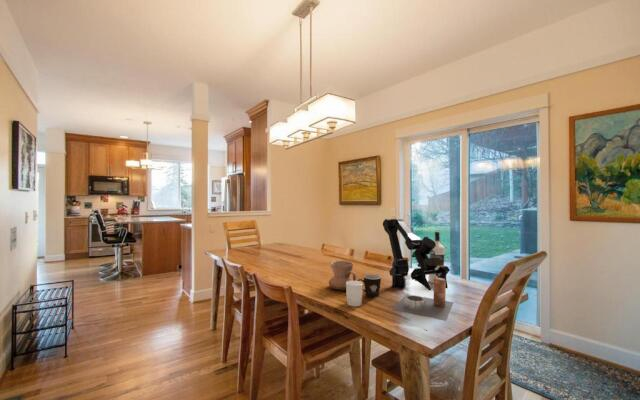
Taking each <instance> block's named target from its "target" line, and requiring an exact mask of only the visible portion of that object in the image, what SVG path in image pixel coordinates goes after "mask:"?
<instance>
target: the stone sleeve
mask: <svg viewBox="0 0 640 400" xmlns="http://www.w3.org/2000/svg"><path fill="white" fill-rule="evenodd" d="M408 295H409V296H406V297H405V307H406V308H407V309H409V310H413V311H423V310H425V298H423V296H421V295H416V294H415V295H414V294H408Z"/></svg>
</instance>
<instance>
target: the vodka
mask: <svg viewBox="0 0 640 400" xmlns="http://www.w3.org/2000/svg"><path fill="white" fill-rule="evenodd" d="M434 242H435V244H436V246H435V248H434V249H433V250H432V251H431V253H430V254H429V258H436V257H437V256H441V258H442V259H443V263H441V265H440V264H439V265H437V267H436V268H435V270H437V269H438V268H439V267H440V266H445V252H446V251H445V246H444V245H443V244H441V243H440V231H435V232H434ZM434 278H438V276H436V274H430V275H428V280H427V281H428V283H430V284H432V285H434Z"/></svg>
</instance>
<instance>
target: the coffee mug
mask: <svg viewBox="0 0 640 400" xmlns="http://www.w3.org/2000/svg"><path fill="white" fill-rule="evenodd" d="M356 281H360V282H362V283H363V285H364V288H363V291H364V293H365V298H367V299H371V300H373V299H375V298H377V297H379V295H380V290H381V281H382V276H381V275H378V274H377V275H376V274H365V275H363V279H356Z"/></svg>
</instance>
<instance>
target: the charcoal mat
mask: <svg viewBox="0 0 640 400" xmlns="http://www.w3.org/2000/svg"><path fill="white" fill-rule="evenodd" d="M409 295H410V294H405V295H404V296H403V297H402V298H401V299H400V300H399V301H398V302H397V304H396V305H395V306H394V307H393V308H392V309H391V310H392V311H396V312H401V313H407V314H412V315H416V316H420V317H421V316H422V317H426V318H431V319H436V320H441V321H447V319H448V317H449V315H450V313H451V310H452V308H453V304H454V302H452V301H448V300H445V307H444V308H439V307H435V306H434V298H431V297H426V296H424V297H423V296H422V297H423V298H425V310H423V311H413V310H409V309H407V308H406V307H405V297H406V296H409Z"/></svg>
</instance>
